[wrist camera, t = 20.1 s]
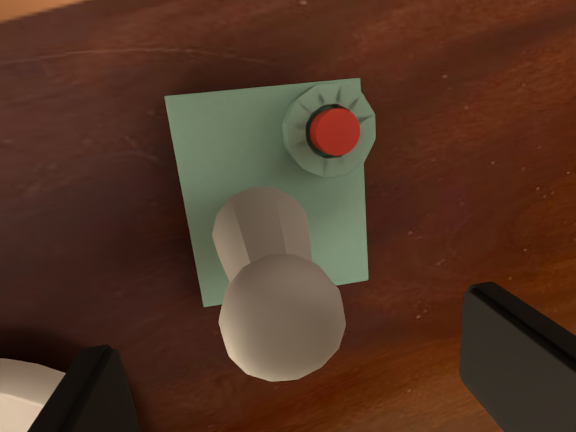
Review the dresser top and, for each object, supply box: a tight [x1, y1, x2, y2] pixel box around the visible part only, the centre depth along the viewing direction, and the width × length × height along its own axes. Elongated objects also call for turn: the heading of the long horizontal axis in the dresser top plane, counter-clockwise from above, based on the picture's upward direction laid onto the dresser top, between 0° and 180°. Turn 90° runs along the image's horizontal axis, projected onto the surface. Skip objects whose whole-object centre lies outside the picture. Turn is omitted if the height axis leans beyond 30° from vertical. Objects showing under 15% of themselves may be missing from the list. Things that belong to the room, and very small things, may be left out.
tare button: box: [310, 108, 360, 156], centre depth 20 cm, size 3×3×2 cm
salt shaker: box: [212, 187, 346, 381], centre depth 17 cm, size 6×6×13 cm
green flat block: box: [164, 78, 376, 307], centre depth 23 cm, size 14×12×3 cm
